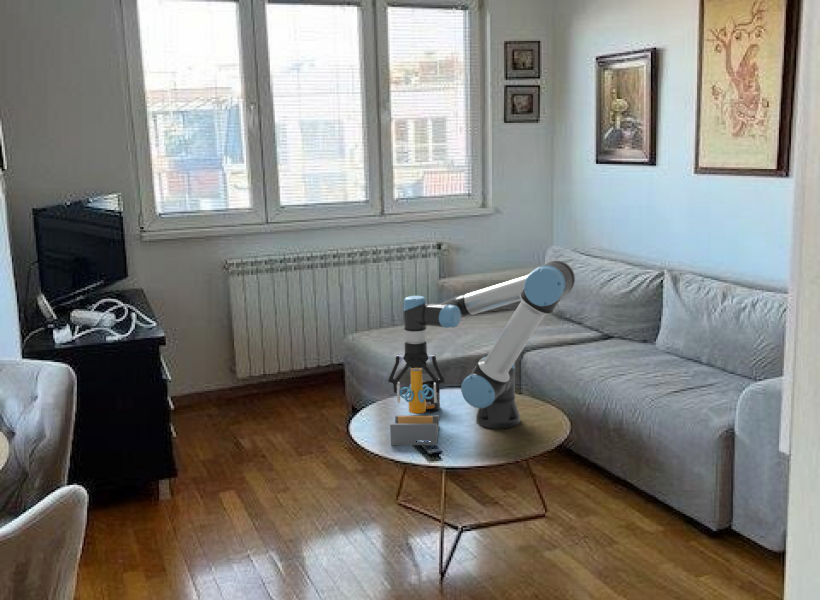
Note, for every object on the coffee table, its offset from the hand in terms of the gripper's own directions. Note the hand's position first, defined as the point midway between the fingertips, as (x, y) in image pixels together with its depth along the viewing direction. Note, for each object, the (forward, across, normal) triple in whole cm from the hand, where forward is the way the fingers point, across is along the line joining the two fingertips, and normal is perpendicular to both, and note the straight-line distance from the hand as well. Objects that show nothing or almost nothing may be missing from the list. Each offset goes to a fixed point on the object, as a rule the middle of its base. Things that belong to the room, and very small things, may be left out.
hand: (417, 401), depth 292 cm
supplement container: (+9, -2, -17) cm, 19 cm away
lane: (+8, 0, +10) cm, 13 cm away
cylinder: (+4, 0, 0) cm, 4 cm away
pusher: (+8, 0, +10) cm, 13 cm away
